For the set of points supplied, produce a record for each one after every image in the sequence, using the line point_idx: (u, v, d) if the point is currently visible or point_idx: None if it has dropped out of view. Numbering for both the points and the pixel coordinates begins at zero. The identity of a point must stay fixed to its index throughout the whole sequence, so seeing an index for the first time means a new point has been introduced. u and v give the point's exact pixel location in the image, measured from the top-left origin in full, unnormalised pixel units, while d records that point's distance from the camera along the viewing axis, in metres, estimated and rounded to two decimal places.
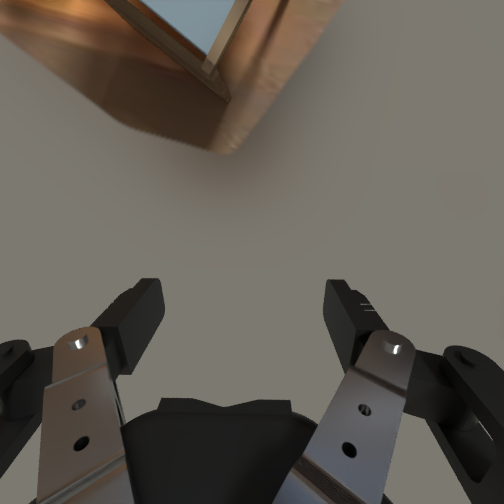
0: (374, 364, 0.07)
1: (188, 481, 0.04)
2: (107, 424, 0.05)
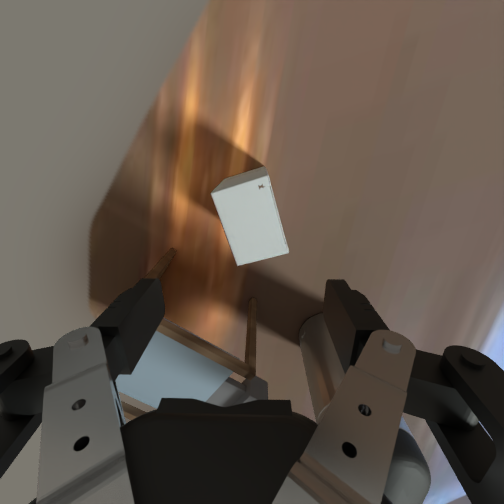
0: (374, 364, 0.07)
1: (189, 481, 0.04)
2: (107, 424, 0.05)
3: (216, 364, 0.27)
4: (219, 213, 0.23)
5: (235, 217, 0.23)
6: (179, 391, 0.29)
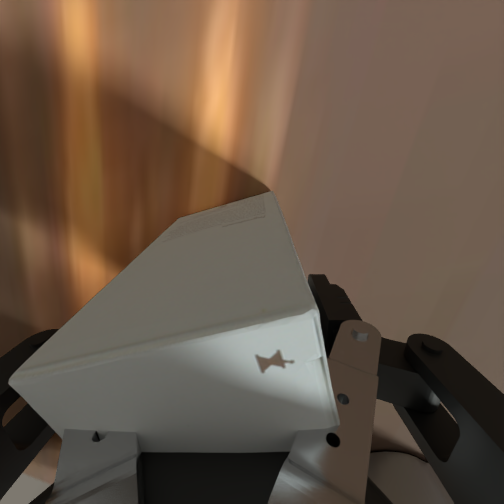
0: (340, 350, 0.07)
1: (189, 481, 0.04)
2: None
3: None
4: None
5: None
6: None
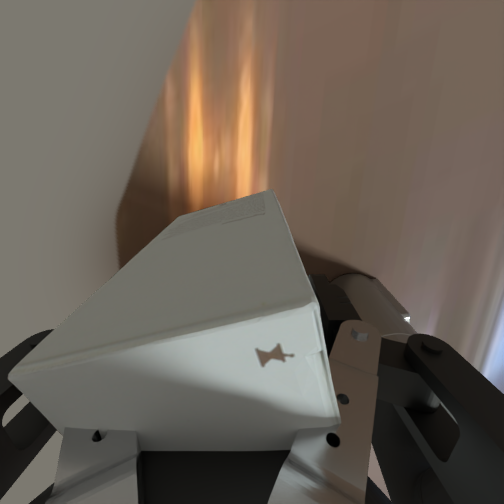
0: (340, 350, 0.07)
1: (189, 481, 0.04)
2: None
3: None
4: None
5: None
6: None
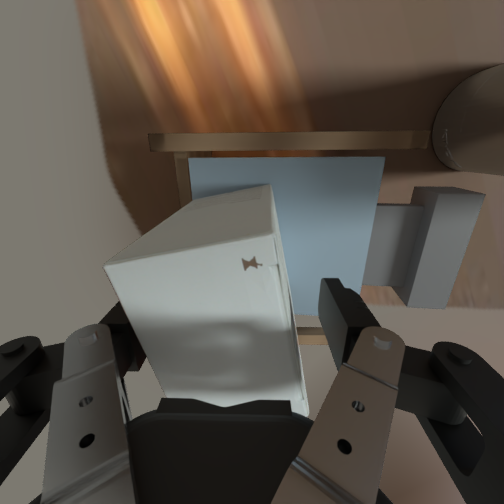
0: (364, 359, 0.07)
1: (189, 481, 0.04)
2: (112, 422, 0.05)
3: (346, 179, 0.16)
4: (130, 317, 0.08)
5: (173, 332, 0.08)
6: (317, 266, 0.18)
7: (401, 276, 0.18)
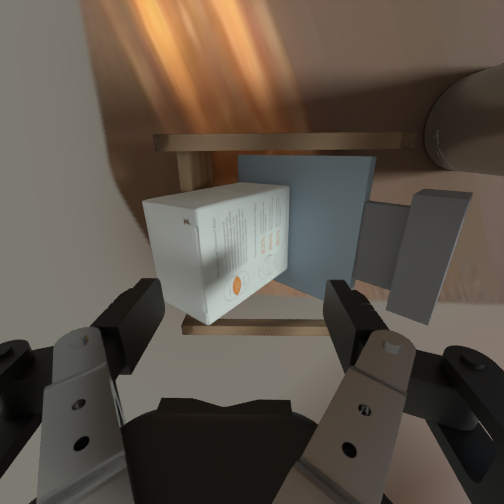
0: (374, 364, 0.07)
1: (189, 481, 0.04)
2: (107, 424, 0.05)
3: (338, 175, 0.18)
4: (148, 229, 0.17)
5: (159, 244, 0.16)
6: (314, 250, 0.21)
7: (390, 279, 0.18)
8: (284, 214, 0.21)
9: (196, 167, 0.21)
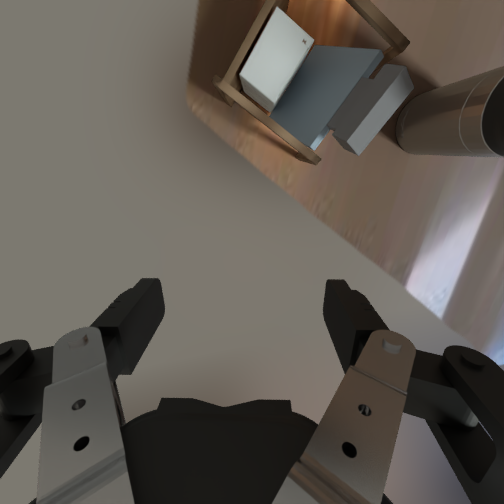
0: (374, 364, 0.07)
1: (188, 481, 0.04)
2: (107, 424, 0.05)
3: (358, 59, 0.29)
4: (267, 25, 0.28)
5: (272, 40, 0.29)
6: (317, 107, 0.32)
7: None
8: None
9: None
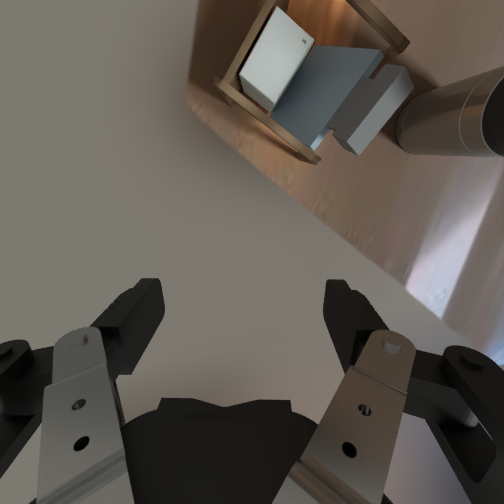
0: (374, 364, 0.07)
1: (188, 481, 0.04)
2: (107, 424, 0.05)
3: (358, 59, 0.29)
4: (267, 25, 0.28)
5: (272, 40, 0.29)
6: (317, 107, 0.32)
7: None
8: None
9: None
